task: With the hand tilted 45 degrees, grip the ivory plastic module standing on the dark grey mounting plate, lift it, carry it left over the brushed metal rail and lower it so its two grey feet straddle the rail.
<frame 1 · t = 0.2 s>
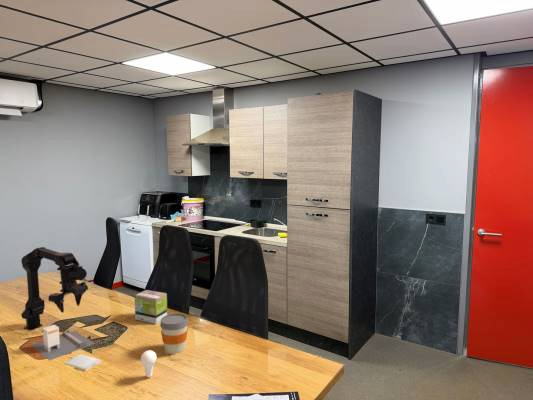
hand: (70, 308, 185), 14 cm above the table, fingers open, 9 cm apart
lightbulb: (149, 377, 151), on the table
module: (52, 348, 173), point 1 cm above the table, touching mounting plate
hard drive: (83, 364, 161), on the table
tea box: (151, 319, 207), on the table
mounting plate: (63, 345, 177), on the table
reusable coffee cup: (174, 349, 173), on the table
rail: (74, 340, 181), resting on mounting plate
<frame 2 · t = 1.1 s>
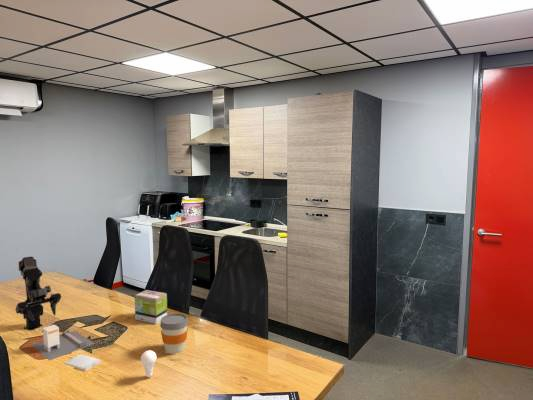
hand: (44, 317, 177), 13 cm above the table, fingers open, 9 cm apart
nothing on the table moved.
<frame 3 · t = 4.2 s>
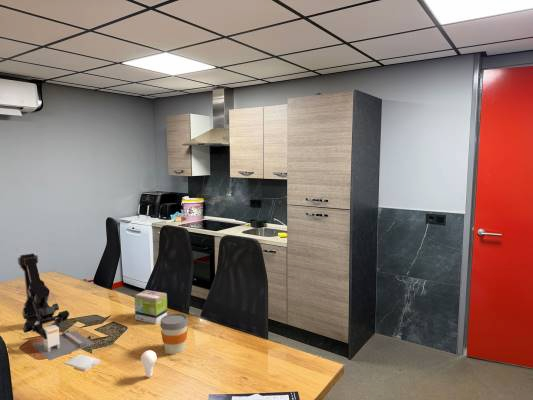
hand: (52, 336, 172), 7 cm above the table, fingers closed on module, 5 cm apart
module: (52, 348, 173), point 1 cm above the table, touching gripper, mounting plate
everything else where it was.
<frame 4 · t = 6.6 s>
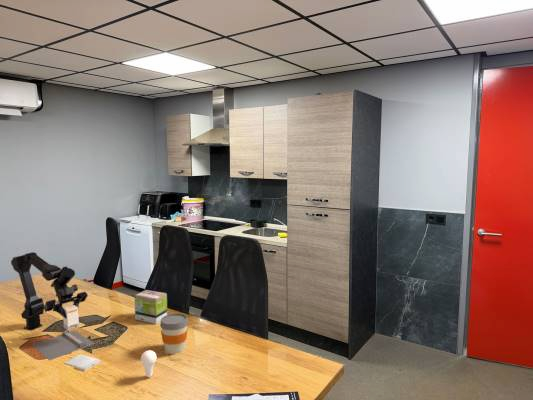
hand: (72, 316, 178), 14 cm above the table, fingers closed on module, 5 cm apart
module: (71, 327, 179), point 8 cm above the table, touching gripper
everything else where it was.
when the fingers open (7 cm above the table, at t = 9.0 s): module stays where it is, resting on mounting plate.
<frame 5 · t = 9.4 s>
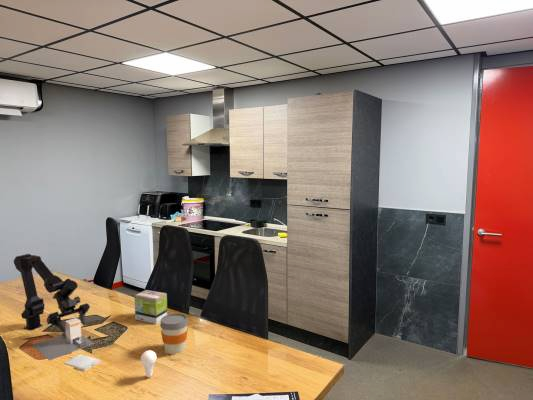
hand: (74, 328, 179), 7 cm above the table, fingers open, 9 cm apart
module: (74, 340, 181), point 1 cm above the table, touching mounting plate
everything else where it was.
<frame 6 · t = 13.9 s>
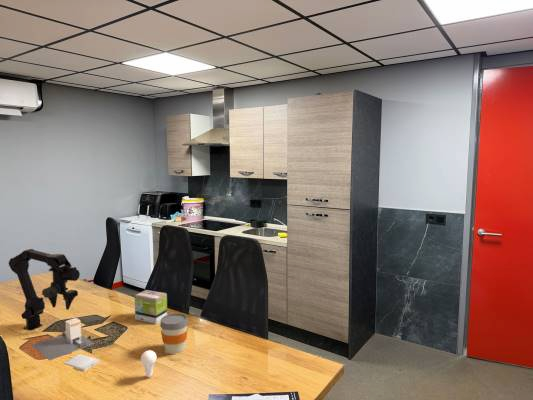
hand: (60, 308, 192), 12 cm above the table, fingers open, 9 cm apart
nothing on the table moved.
at the end: module 0.0 cm from the rail (horizontally); module point 0.6 cm above the table; module tilted 0° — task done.
